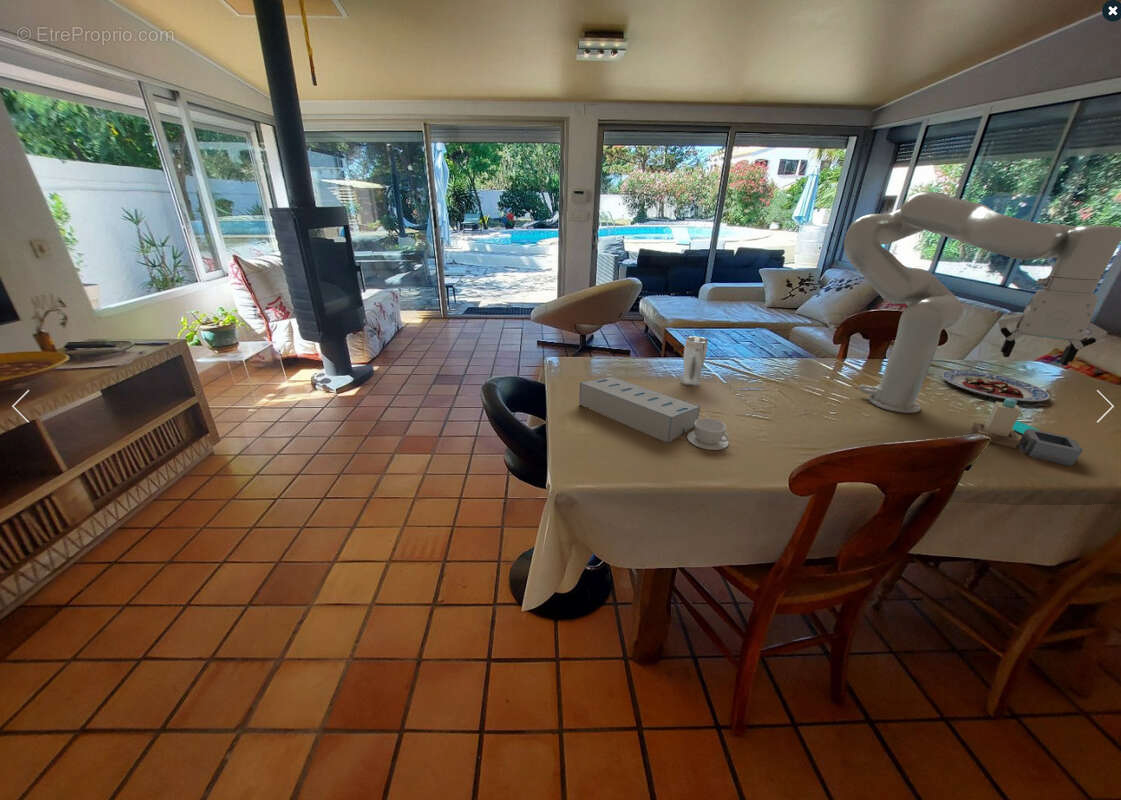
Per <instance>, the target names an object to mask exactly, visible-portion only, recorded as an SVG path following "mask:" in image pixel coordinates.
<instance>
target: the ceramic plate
mask: <svg viewBox="0 0 1121 800" xmlns="http://www.w3.org/2000/svg"><path fill="white" fill-rule="evenodd" d="M941 377H942V379H944V380H945V381H946V382H948V383H949V384H952V385H954V386H956V387H959V388H962V389H964V390H966V391H968V392H971V393H974V394H976V393H977V395H980V396H985V397H988V398H994V399H998V400H1005V399H1013V400H1016V401H1017V402H1018V401H1020V402H1042V401H1043V402H1045V401H1047V400H1049V399H1050V396H1051V395H1050V393H1048V391H1046V390H1044V389H1043V388H1041V387H1038V386H1036V385H1034V384H1031V383H1028V382H1026V381H1021V380H1019V379H1015V378H1013V377H1012V378H1011V377H1008V376H1004V375H999V374H995V373H994V374H993V373H989V372H982V371H974V370H961V369H959V370H956V369H955V370H954V369H953V370H947V371H944V372H943V373H942V374H941Z"/></svg>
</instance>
